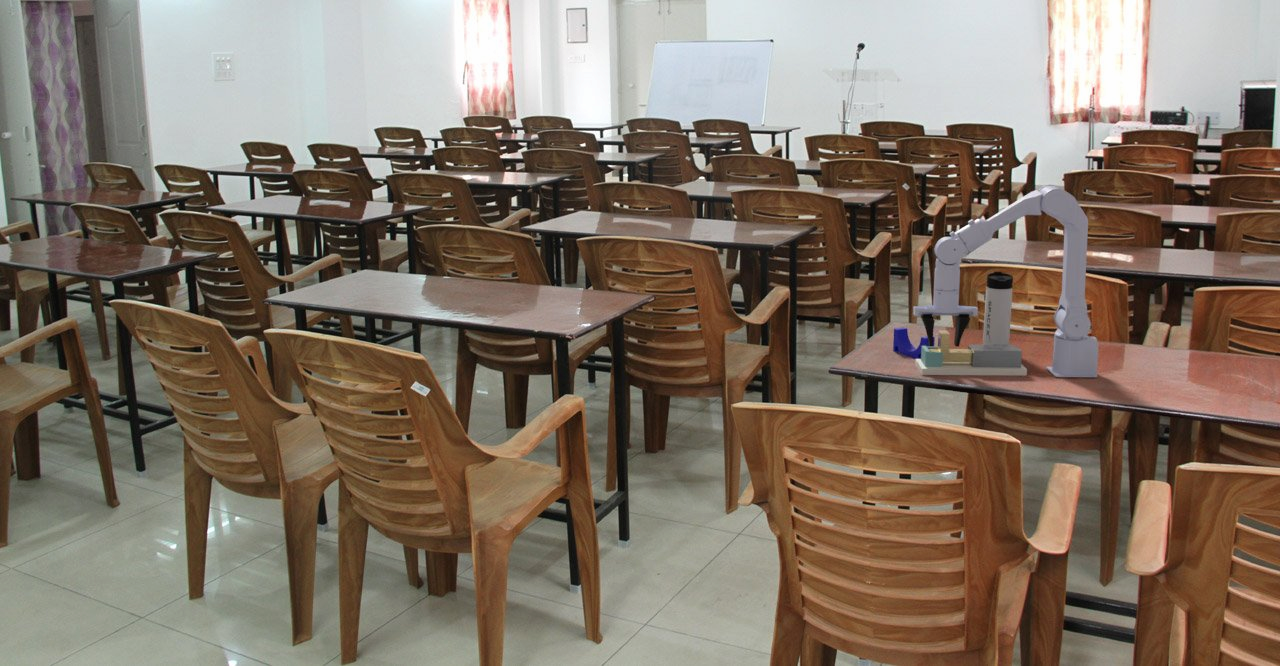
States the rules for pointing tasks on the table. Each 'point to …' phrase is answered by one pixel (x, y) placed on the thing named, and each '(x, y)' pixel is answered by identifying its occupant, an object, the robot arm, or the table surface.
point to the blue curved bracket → (908, 343)
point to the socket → (931, 357)
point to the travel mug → (998, 309)
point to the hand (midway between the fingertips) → (943, 345)
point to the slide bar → (951, 350)
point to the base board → (968, 369)
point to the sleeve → (996, 356)
